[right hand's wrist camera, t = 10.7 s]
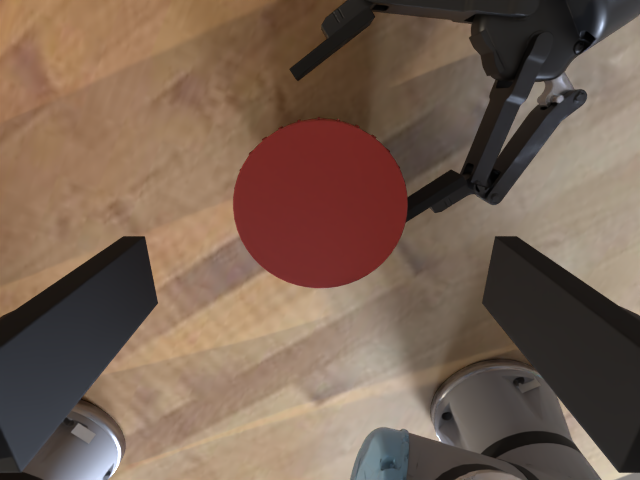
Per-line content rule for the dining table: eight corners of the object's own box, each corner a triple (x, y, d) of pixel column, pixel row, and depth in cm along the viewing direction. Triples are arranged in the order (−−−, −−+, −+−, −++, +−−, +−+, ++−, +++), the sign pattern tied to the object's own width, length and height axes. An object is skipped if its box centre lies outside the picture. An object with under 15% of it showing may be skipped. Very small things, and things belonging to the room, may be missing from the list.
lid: (241, 274, 23) (235, 286, 21) (233, 113, 19) (226, 114, 18) (392, 279, 23) (397, 292, 22) (412, 120, 19) (420, 122, 18)
